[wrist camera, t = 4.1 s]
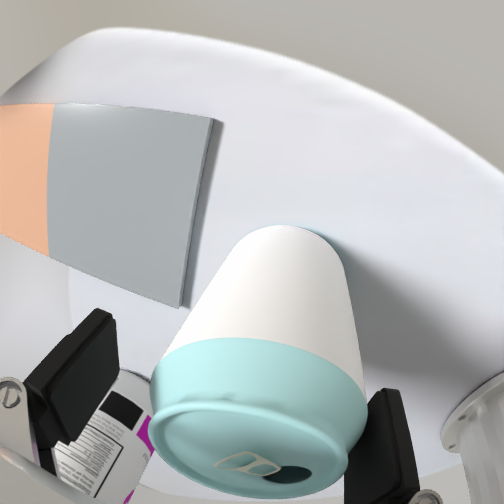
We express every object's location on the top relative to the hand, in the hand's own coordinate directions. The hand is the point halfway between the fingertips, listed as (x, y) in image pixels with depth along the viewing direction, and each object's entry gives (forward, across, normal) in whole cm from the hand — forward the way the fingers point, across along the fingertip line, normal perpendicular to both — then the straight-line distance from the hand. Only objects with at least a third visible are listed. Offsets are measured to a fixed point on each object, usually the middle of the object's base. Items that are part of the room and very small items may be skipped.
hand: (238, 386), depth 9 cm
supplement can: (+9, +9, +17) cm, 22 cm away
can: (+9, -1, 0) cm, 9 cm away
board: (+10, +17, -2) cm, 20 cm away
